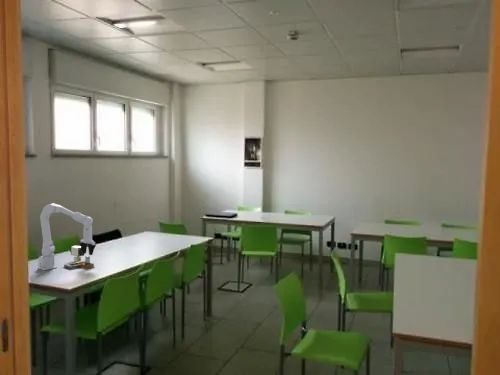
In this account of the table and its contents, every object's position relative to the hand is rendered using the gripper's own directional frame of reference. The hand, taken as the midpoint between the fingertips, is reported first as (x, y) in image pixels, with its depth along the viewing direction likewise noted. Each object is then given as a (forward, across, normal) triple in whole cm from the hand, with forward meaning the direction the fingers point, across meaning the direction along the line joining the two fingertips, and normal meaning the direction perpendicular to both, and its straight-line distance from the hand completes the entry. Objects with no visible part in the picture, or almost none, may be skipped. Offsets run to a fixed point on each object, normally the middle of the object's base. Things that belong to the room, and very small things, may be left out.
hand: (87, 254), depth 294 cm
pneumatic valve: (+10, +21, -6) cm, 24 cm away
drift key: (+9, +7, +1) cm, 12 cm away
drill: (+9, 0, 0) cm, 9 cm away
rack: (+9, 0, 0) cm, 9 cm away
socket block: (+9, +7, +6) cm, 14 cm away
